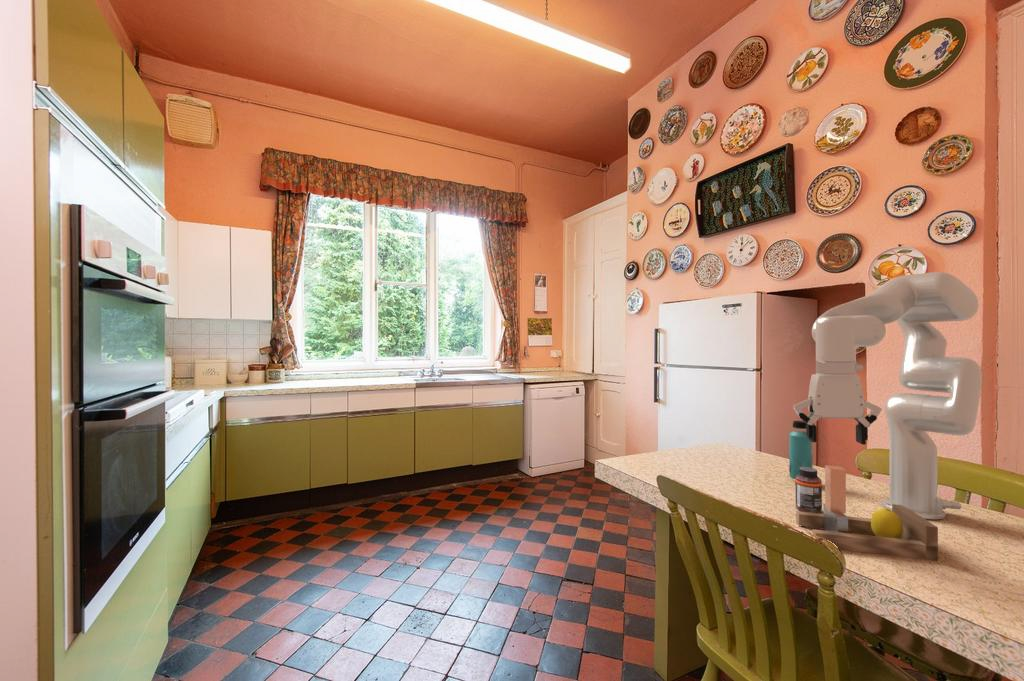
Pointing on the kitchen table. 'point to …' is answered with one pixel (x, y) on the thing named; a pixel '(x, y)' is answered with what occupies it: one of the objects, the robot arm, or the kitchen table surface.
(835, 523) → the sliding jaw
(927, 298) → the robot arm
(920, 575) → the kitchen table surface
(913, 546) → the frame
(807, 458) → the beverage bottle
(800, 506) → the supplement bottle
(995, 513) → the kitchen table surface
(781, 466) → the kitchen table surface
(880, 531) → the lemon
